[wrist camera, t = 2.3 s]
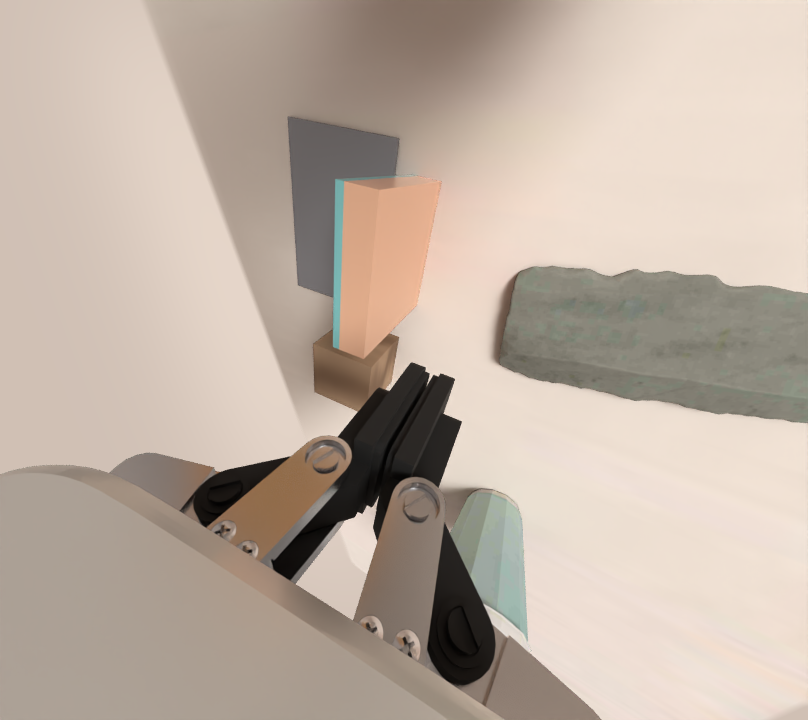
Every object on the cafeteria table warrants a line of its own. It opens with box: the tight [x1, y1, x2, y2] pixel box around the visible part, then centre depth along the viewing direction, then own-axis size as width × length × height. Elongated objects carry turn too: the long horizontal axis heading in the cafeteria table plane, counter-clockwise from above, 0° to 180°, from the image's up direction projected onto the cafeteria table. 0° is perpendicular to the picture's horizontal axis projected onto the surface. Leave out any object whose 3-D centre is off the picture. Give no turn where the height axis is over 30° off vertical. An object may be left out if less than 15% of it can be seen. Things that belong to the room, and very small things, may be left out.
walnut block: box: [313, 330, 399, 411], centre depth 30 cm, size 6×6×6 cm
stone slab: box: [499, 266, 808, 423], centre depth 21 cm, size 22×3×10 cm
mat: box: [288, 117, 399, 298], centre depth 26 cm, size 14×10×1 cm
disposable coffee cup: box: [450, 489, 531, 653], centre depth 32 cm, size 11×11×15 cm
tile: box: [333, 175, 442, 359], centre depth 21 cm, size 10×2×10 cm, turn 170°
